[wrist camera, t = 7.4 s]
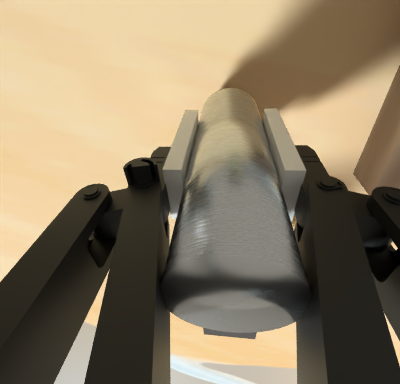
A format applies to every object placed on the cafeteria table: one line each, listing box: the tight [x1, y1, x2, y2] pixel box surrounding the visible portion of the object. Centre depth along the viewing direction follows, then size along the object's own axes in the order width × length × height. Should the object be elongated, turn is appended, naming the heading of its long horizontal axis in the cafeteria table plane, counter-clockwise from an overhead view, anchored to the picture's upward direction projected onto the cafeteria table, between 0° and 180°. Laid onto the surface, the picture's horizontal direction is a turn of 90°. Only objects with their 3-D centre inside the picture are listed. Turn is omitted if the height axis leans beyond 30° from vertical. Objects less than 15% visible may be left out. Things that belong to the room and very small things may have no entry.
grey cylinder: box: [160, 88, 312, 333], centre depth 11 cm, size 4×4×13 cm
